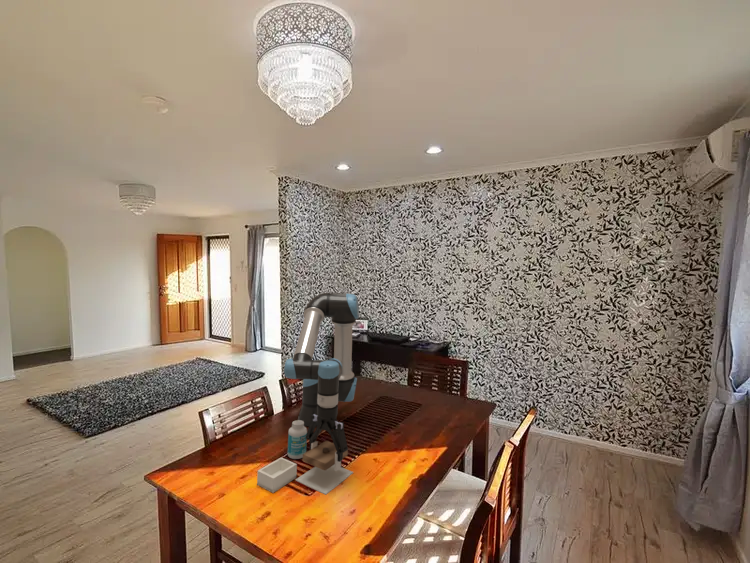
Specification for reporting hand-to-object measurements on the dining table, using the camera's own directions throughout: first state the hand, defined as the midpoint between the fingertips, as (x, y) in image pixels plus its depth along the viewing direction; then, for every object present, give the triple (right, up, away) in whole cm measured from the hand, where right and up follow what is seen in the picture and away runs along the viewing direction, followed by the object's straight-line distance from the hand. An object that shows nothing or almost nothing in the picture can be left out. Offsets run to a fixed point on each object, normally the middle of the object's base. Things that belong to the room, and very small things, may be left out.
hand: (325, 464), depth 132 cm
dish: (-17, -4, -4) cm, 18 cm away
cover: (0, +2, 0) cm, 2 cm away
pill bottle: (-14, -4, +15) cm, 20 cm away
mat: (0, -5, 0) cm, 5 cm away
